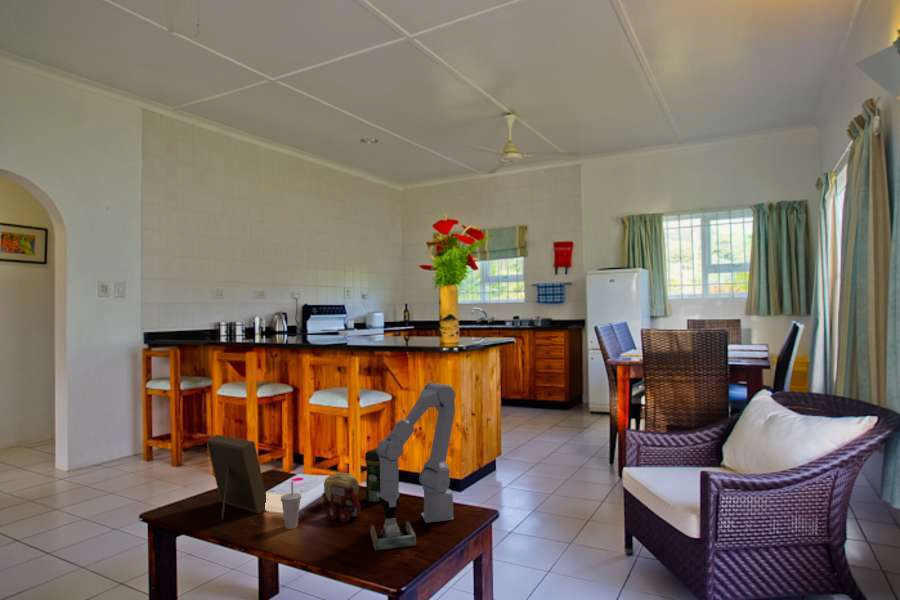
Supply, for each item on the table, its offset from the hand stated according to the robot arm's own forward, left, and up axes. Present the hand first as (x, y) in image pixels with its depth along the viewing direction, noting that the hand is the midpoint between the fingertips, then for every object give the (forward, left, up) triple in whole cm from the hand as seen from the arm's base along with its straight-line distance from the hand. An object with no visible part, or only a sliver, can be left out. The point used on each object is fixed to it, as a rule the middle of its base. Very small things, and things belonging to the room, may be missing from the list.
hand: (389, 523), depth 164 cm
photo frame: (+51, -34, -3) cm, 62 cm away
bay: (0, +6, -3) cm, 6 cm away
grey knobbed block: (0, +5, -3) cm, 5 cm away
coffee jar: (0, -31, -3) cm, 32 cm away
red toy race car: (+13, -16, -3) cm, 21 cm away
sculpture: (+13, -31, -3) cm, 34 cm away
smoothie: (+30, -13, -3) cm, 33 cm away
